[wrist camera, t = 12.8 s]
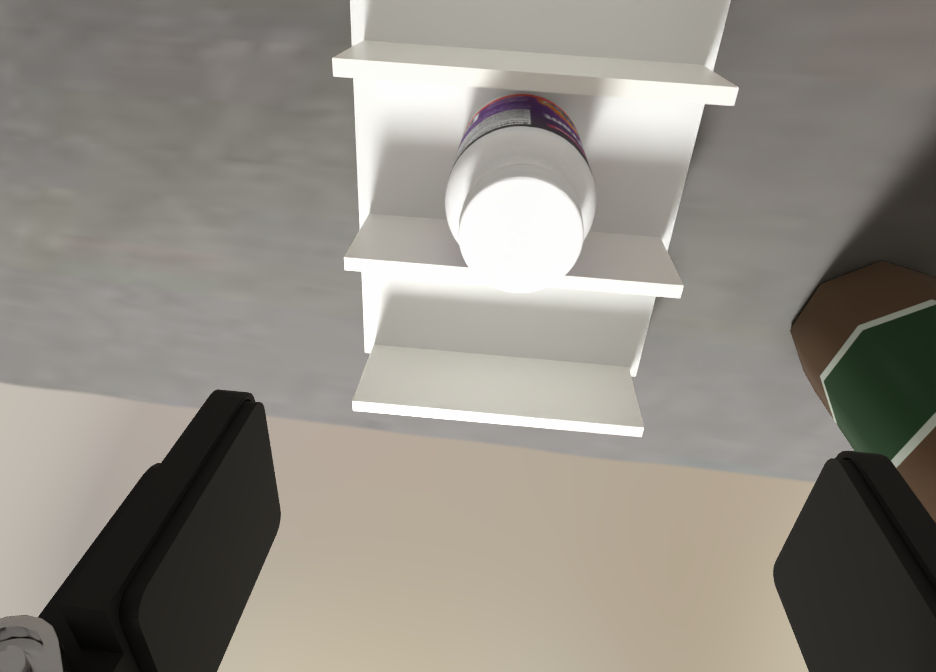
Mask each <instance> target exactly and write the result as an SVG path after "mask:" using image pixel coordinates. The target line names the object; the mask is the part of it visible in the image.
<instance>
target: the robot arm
mask: <svg viewBox="0 0 936 672" xmlns="http://www.w3.org/2000/svg"><path fill="white" fill-rule="evenodd" d="M280 517H281V512H280V504H279V498H278V491H277V485H276V479H275V472H274V466H273V460H272V454H271V447H270V440H269V434H268V429H267V421H266V415H265V409H264V405H263V404H262V403H260V402H255V400H254V397H253V395H252V394H251V393H248V392H238V391H227V390H215V391H214V392H213V393H212V394H211V395H210V396H209V397H208V399H207V400H206V402H205V403H204V404H203V406H202V407H201V408H200V410H199V411H198V413H197V414H196V416H195V417H194V418H193V420H192V421H191V422H190V424H189V425H188V426H187V428H186V429H185V431H184V432H183V433H182V435H181V436H180V438H179V439H178V440H177V442H176V443H175V445H174V446H173V448H172V449H171V450H170V452H169V453H168V454H167V456H166V457H165V458H164V460H163V461H162V463H157V464H155V465H153V466H151V467H150V468H149V469H148V470H147V471H146V472H145V473H144V474H143V476H142V477H141V478H140V480H139V481H138V483H137V484H136V485H135V487H134V488H133V489H132V491H131V492H130V494H129V495H128V496H127V498H126V499H125V500H124V502H123V503H122V504H121V506H120V507H119V508H118V510H117V511H116V512H115V514H114V515H113V516H112V518H111V519H110V520H109V522H108V523H107V525H106V526H105V527H104V529H103V530H102V531H101V533H100V534H99V535H98V537H97V538H96V539H95V541H94V542H93V543H92V545H91V546H90V547H89V549H88V550H87V552H86V553H85V554H84V556H83V557H82V558H81V560H80V561H79V562H78V564H77V565H76V566H75V568H74V569H73V570H72V572H71V573H70V574H69V576H68V577H67V579H66V580H65V581H64V583H63V584H62V585H61V587H60V588H59V589H58V591H57V592H56V593H55V595H54V596H53V597H52V599H51V600H50V602H49V603H48V604H47V606H46V607H45V608H44V610H43V611H42V612H41V614H40V615H39V617H33V616H28V615H19V616H9V617H4V618H1V619H0V672H217V670H218V667H219V665H220V663H221V661H222V659H223V656H224V654H225V652H226V649H227V647H228V645H229V642H230V640H231V638H232V636H233V633H234V631H235V629H236V626H237V624H238V622H239V619H240V617H241V615H242V613H243V610H244V608H245V606H246V603H247V601H248V599H249V596H250V594H251V592H252V589H253V587H254V585H255V582H256V580H257V578H258V576H259V573H260V571H261V569H262V566H263V564H264V562H265V559H266V557H267V555H268V553H269V550H270V548H271V546H272V543H273V541H274V539H275V536H276V534H277V531H278V528H279V524H280ZM773 576H774V583H775V586H776V589H777V591H778V594H779V596H780V599H781V601H782V604H783V607H784V609H785V612H786V614H787V617H788V619H789V622H790V624H791V627H792V630H793V632H794V634H795V637H796V639H797V642H798V645H799V647H800V650H801V652H802V655H803V658H804V660H805V663H806V665H807V668H808V670H809V672H936V523H935V521H934V520H933V519H932V517H931V516H930V514H929V513H928V512H927V510H926V509H925V507H924V506H923V505H922V503H921V502H920V501H919V499H918V498H917V496H916V495H915V494H914V492H913V491H912V489H911V488H910V487H909V485H908V484H907V482H906V481H905V480H904V478H903V477H902V475H901V474H900V473H899V471H898V470H897V469H896V467H895V466H894V464H893V463H892V462H891V460H890V459H889V458H888V457H887V456H884V455H882V454H875V453H865V452H855V451H842V452H841V453H839V454H838V455H837V457H836V458H835V459H829V460H828V461H827V462H826V463H825V465H824V467H823V469H822V471H821V473H820V475H819V477H818V479H817V481H816V483H815V485H814V487H813V489H812V491H811V493H810V495H809V497H808V499H807V501H806V503H805V504H804V507H803V508H802V511H801V512H800V514H799V516H798V518H797V520H796V522H795V524H794V527H793V528H792V530H791V532H790V534H789V536H788V538H787V540H786V542H785V544H784V546H783V548H782V550H781V552H780V554H779V556H778V558H777V560H776V562H775V565H774V570H773Z"/></svg>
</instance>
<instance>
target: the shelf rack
mask: <svg viewBox="0 0 936 672" xmlns="http://www.w3.org/2000/svg"><path fill="white" fill-rule="evenodd" d="M730 2H731V0H350V10H351V34H352V47H351V48H349V49H347V50H345V51H344V52H342V53H340V54H338V55H336V56H335V57H333V58H332V64H333V76H335V77H348V78H353V81H354V104H355V128H356V152H357V175H358V199H359V222H360V230H359V232H358V234H357V235H356V237H355V239H354V241H353V242H352V244H351V246H350V248H349V249H348V251H347V253H346V254H345V256H344V267H345V270H348V271H360V272H362V293H363V317H364V341H365V353H370V355H369V358H368V361H367V363H366V366H365V369H364V371H363V374H362V377H361V379H360V382H359V385H358V387H357V390H356V393H355V395H354V398H353V401H352V403H353V411H363V412H374V413H385V414H396V415H407V416H417V417H428V418H439V419H450V420H461V421H472V422H483V423H494V424H505V425H516V426H526V427H537V428H548V429H559V430H570V431H581V432H592V433H603V434H614V435H625V436H635V437H642V434H643V431H644V424H643V420H642V416H641V413H640V409H639V405H638V401H637V397H636V393H635V389H634V386H633V382H632V378H631V376H634V377H636V373H637V369H638V365H639V361H640V357H641V354H642V350H643V346H644V342H645V338H646V334H647V330H648V326H649V322H650V318H651V314H652V310H653V306H654V302H655V298H656V296H657V297H669V298H681V294H682V290H683V287H684V285H683V283H682V281H681V279H680V277H679V275H678V272H677V270H676V268H675V266H674V264H673V262H672V260H671V258H670V256H669V254H668V252H667V251H668V247H669V243H670V239H671V235H672V231H673V227H674V223H675V219H676V215H677V211H678V207H679V203H680V199H681V196H682V192H683V188H684V184H685V180H686V176H687V172H688V168H689V164H690V160H691V156H692V152H693V148H694V144H695V140H696V136H697V132H698V128H699V124H700V120H701V116H702V113H703V109H704V105H705V104H714V105H727V106H734V104H735V100H736V96H737V93H738V89H739V87H737V86H736V85H734V84H732V83H731V82H729V81H728V80H726V79H724V78H723V77H721V76H720V75H718V74H716V73H715V72H713V69H714V65H715V61H716V57H717V53H718V49H719V45H720V41H721V37H722V34H723V30H724V26H725V22H726V18H727V14H728V10H729V6H730ZM512 93H532V94H537V95H540V96H543V97H545V98H548V99H550V100H551V101H553V102H555V103H556V104H557V105H558V106H560V107H561V108H562V109H563V110H564V111H565V112H566V113H567V115H568V116H569V117H570V119H571V120H572V122H573V124H574V125H575V127H576V129H577V131H578V134H579V136H580V139H581V142H582V145H583V148H584V151H585V154H586V157H587V160H588V163H589V166H590V169H591V172H592V175H593V178H594V181H595V190H596V210H595V215H594V219H593V223H592V225H591V228H590V230H589V232H588V234H587V236H586V238H585V240H584V241H583V245H582V249H581V252H580V255H579V257H578V259H577V261H576V263H575V264H574V266H573V267H572V268H571V270H570V271H569V272H568V273H567V274H566V275H565V276H564V277H563V278H562V279H560V280H559V281H557V282H556V283H554V284H553V285H551V286H549V287H547V288H544V289H542V290H538V291H534V292H529V293H512V292H506V291H502V290H499V289H496V288H494V287H492V286H490V285H488V284H486V283H485V282H483V281H482V280H480V279H479V278H478V277H477V276H476V275H475V274H474V273H473V272H472V271H471V270H470V268H469V267H468V265H467V264H466V262H465V260H464V258H463V256H462V253H461V250H460V246H459V244H458V243H457V241H456V240H455V238H454V236H453V234H452V232H451V230H450V228H449V225H448V221H447V217H446V210H445V194H446V188H447V183H448V179H449V175H450V172H451V169H452V166H453V163H454V160H455V157H456V154H457V151H458V148H459V145H460V142H461V139H462V136H463V133H464V131H465V129H466V127H467V126H468V124H469V122H470V121H471V119H472V118H473V116H474V115H475V114H476V113H477V112H478V111H479V110H480V109H481V108H482V107H483V106H484V105H486V104H487V103H489V102H490V101H492V100H494V99H496V98H498V97H500V96H503V95H507V94H512Z"/></svg>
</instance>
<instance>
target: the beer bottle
mask: <svg viewBox="0 0 936 672" xmlns="http://www.w3.org/2000/svg"><path fill="white" fill-rule="evenodd" d="M790 331H791V334H792V337H793V340H794V343H795V346H796V349H797V352H798V355H799V359H800V362H801V365H802V368H803V371H804V372H805V374H806V376H807V378H808V380H809V382H810V383H811V385H812V387H813V389H814V391H815V392H816V394H817V395H818V397H819V398H820V400H821V401H822V403H823V404H824V406H825V407H826V409H827V410H828V412H829V413H830V415H831V416H832V418H833V419H834V421H835V422H836V424H837V425H838V427H839V428H840V430H841V431H842V433H843V434H844V436H845V437H846V439H847V440H848V442H849V443H850V445H851V446H852V448H853V449H854V451H855V452H865V453H875V454H882V455H884V456H887V457H888V458H889V459H890V460H891V462H892V463H893V464H894V466H895V467H896V469H897V470H898V471H899V473H900V474H901V475H902V477H903V478H904V480H905V481H906V482H907V484H908V485H909V487H910V488H911V489H912V491H913V492H914V494H915V495H916V496H917V498H918V499H919V501H920V502H921V503H922V505H923V506H924V507H925V509H926V510H927V512H928V513H929V514H930V516H931V517H932V519H933V520H934V521H935V523H936V277H933V276H930V275H926V274H923V273H920V272H917V271H914V270H910V269H907V268H904V267H901V266H897V265H894V264H891V263H888V262H885V261H879V262H876V263H874V264H871V265H868V266H866V267H863V268H861V269H858V270H855V271H853V272H850V273H847V274H845V275H842V276H840V277H837V278H834V279H832V280H829V281H827V282H824V283H821V284H820V286H819V287H818V289H817V290H816V292H815V293H814V295H813V296H812V298H811V299H810V300H809V302H808V303H807V305H806V306H805V308H804V309H803V311H802V312H801V314H800V315H799V317H798V318H797V319H796V321H795V322H794V324H793V325H792V327H791V330H790Z"/></svg>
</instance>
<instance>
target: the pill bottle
mask: <svg viewBox="0 0 936 672" xmlns="http://www.w3.org/2000/svg"><path fill="white" fill-rule="evenodd" d="M445 210H446V217H447V221H448V225H449V228H450V230H451V232H452V234H453V236H454V238H455V240H456V241H457V243H458V244H459V246H460V250H461V253H462V256H463V258H464V260H465V262H466V264H467V265H468V267H469V268H470V270H471V271H472V272H473V273H474V274H475V275H476V276H477V277H478V278H479V279H480V280H482V281H483V282H485V283H486V284H488V285H490V286H492V287H494V288H496V289H499V290H502V291H506V292H512V293H529V292H534V291H538V290H542V289H544V288H547V287H549V286H551V285H553V284H554V283H556V282H557V281H559V280H560V279H562V278H563V277H564V276H565V275H566V274H567V273H568V272H569V271H570V270H571V268H572V267H573V266H574V264H575V263H576V261H577V259H578V257H579V255H580V252H581V249H582V245H583V241H584V240H585V238H586V236H587V234H588V232H589V230H590V228H591V225H592V223H593V219H594V215H595V210H596V190H595V181H594V178H593V175H592V172H591V169H590V166H589V163H588V160H587V157H586V154H585V151H584V148H583V145H582V142H581V139H580V136H579V134H578V131H577V129H576V127H575V125H574V124H573V122H572V120H571V119H570V117H569V116H568V115H567V113H566V112H565V111H564V110H563V109H562V108H561V107H560V106H558V105H557V104H556V103H555V102H553V101H551V100H550V99H548V98H545V97H543V96H540V95H537V94H532V93H512V94H507V95H503V96H500V97H498V98H496V99H494V100H492V101H490V102H489V103H487V104H486V105H484V106H483V107H482V108H481V109H480V110H479V111H478V112H477V113H476V114H475V115H474V116H473V118H472V119H471V121H470V122H469V124H468V126H467V127H466V129H465V131H464V133H463V136H462V139H461V142H460V145H459V148H458V151H457V154H456V157H455V160H454V163H453V166H452V169H451V172H450V175H449V179H448V183H447V188H446V194H445Z"/></svg>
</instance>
